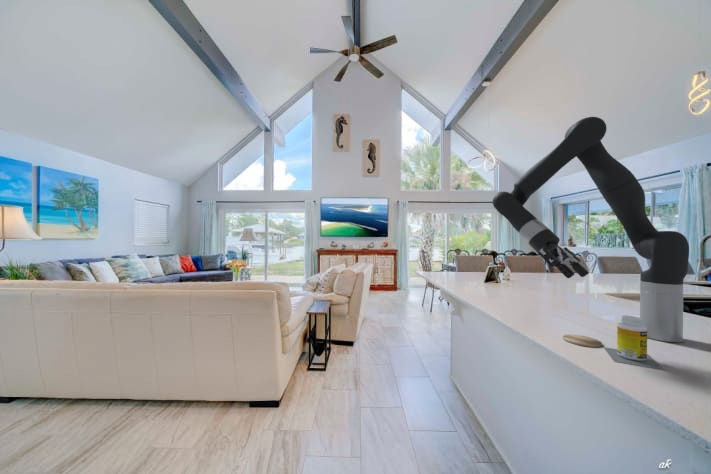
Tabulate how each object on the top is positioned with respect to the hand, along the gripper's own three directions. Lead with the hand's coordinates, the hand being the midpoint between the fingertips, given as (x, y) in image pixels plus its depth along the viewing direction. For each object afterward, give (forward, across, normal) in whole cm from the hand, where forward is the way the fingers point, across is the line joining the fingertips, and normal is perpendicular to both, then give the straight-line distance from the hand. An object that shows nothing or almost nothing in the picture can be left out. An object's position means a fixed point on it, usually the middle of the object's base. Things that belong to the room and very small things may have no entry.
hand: (578, 275), depth 84 cm
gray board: (+22, 0, +6) cm, 23 cm away
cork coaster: (+14, +3, +14) cm, 20 cm away
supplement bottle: (+22, 0, +6) cm, 23 cm away
